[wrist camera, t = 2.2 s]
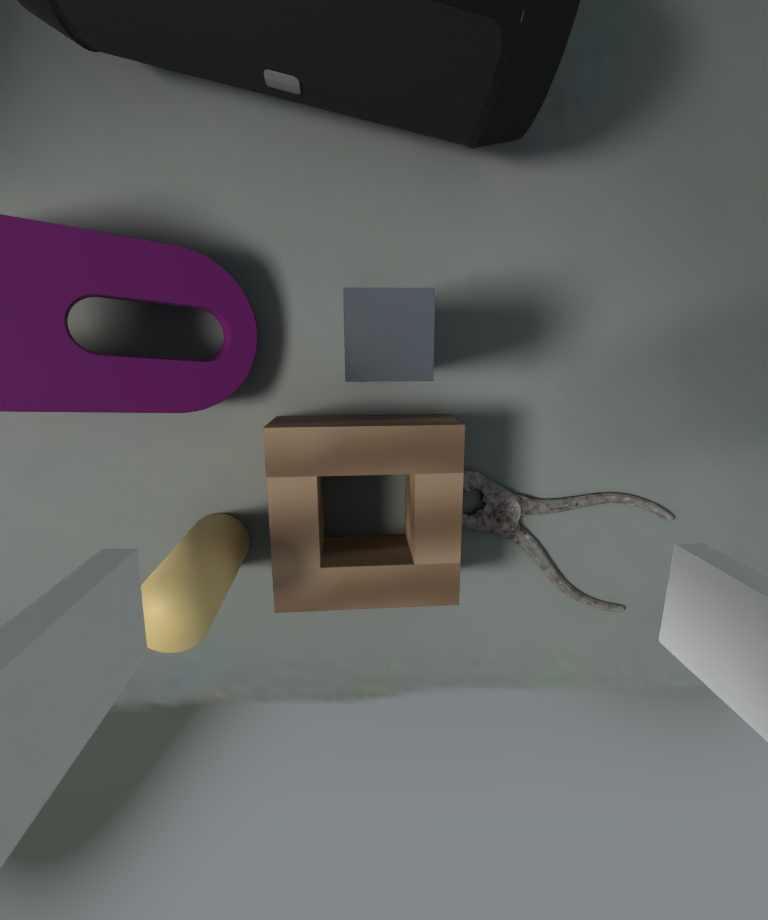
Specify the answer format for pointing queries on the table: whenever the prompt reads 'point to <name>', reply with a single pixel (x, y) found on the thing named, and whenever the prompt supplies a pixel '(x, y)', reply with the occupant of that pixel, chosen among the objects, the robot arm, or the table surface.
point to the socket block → (365, 557)
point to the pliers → (508, 507)
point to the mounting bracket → (118, 277)
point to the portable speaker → (349, 54)
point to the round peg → (193, 583)
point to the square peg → (389, 334)
